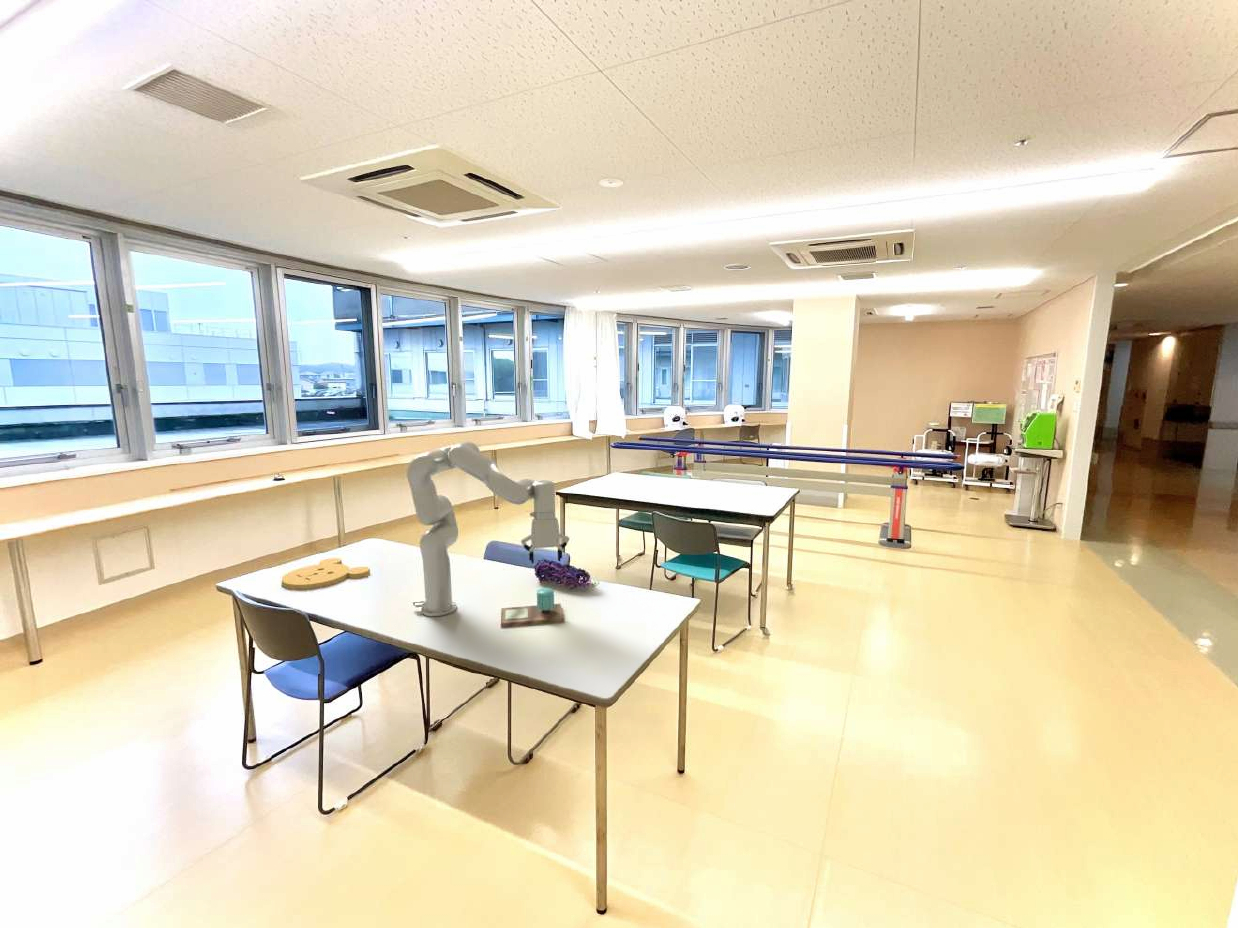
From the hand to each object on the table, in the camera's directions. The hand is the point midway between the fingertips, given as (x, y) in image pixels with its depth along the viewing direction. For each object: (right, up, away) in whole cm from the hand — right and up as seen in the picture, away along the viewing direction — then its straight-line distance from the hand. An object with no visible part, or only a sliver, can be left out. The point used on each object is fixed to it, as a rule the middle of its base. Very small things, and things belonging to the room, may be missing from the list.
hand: (545, 561), depth 194 cm
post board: (-5, -21, +1) cm, 21 cm away
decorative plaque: (-104, -15, +41) cm, 113 cm away
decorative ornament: (+5, -17, +32) cm, 36 cm away
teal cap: (0, -17, +2) cm, 17 cm away
